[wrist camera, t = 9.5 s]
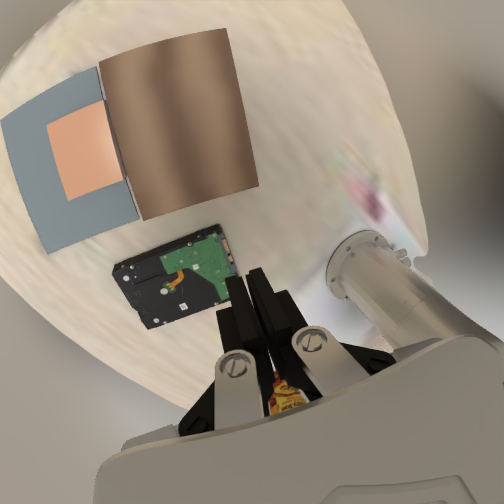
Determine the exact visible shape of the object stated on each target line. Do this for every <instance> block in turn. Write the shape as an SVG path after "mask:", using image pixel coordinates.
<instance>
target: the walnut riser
mask: <svg viewBox="0 0 504 504" xmlns="http://www.w3.org/2000/svg"><path fill="white" fill-rule="evenodd" d="M99 67H100V72H101V77H102V81H103V86H104V90H105V95H106V99H107V103H108V107H109V112H110V115H111V119H112V123H113V127H114V131H115V134H116V138H117V141H118V145H119V148H120V152H121V155H122V158H123V162H124V165H125V168H126V171H127V174H128V177H129V181H130V184H131V187H132V190H133V192H134V195H135V198H136V201H137V204H138V207H139V210H140V212H141V215H142V218H143V221H145V220H148V219H151V218H154V217H157V216H160V215H163V214H166V213H169V212H172V211H175V210H178V209H182V208H185V207H188V206H191V205H195V204H198V203H201V202H204V201H208V200H211V199H215V198H218V197H221V196H225V195H228V194H232V193H236V192H239V191H243V190H246V189H250V188H254V187H258V186H259V182H258V177H257V172H256V167H255V162H254V157H253V152H252V147H251V142H250V137H249V132H248V127H247V122H246V117H245V113H244V108H243V103H242V98H241V94H240V89H239V84H238V80H237V75H236V70H235V66H234V61H233V57H232V52H231V48H230V43H229V39H228V34H227V30H226V28H223V29H216V30H210V31H204V32H198V33H193V34H188V35H184V36H179V37H175V38H171V39H167V40H163V41H159V42H156V43H152V44H149V45H145V46H142V47H139V48H136V49H133V50H130V51H127V52H124V53H121V54H118V55H116V56H113V57H110V58H108V59H105V60H103V61H100V62H99Z"/></svg>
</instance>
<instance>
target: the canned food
mask: <svg viewBox="0 0 504 504" xmlns="http://www.w3.org/2000/svg"><path fill="white" fill-rule="evenodd" d="M274 375H275V378H276V383H273V387H274V391H275V392H274V393H273V395H272V396H271V398H270V399H269V404H270V410H271V415H274V414H277V413H281V412H284V411H287V410H290V409H292V408H295V407H298V406H301V405H304V404H306V403H307V402H306V401H305V399H304V398H303V396H302V395H301V393H300V391H299V389H297V388H294V387H291V386H290V385H289V386H287V383H286V381H285V380H282V381H280V379H279V376H278V374H277V371H274Z"/></svg>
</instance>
